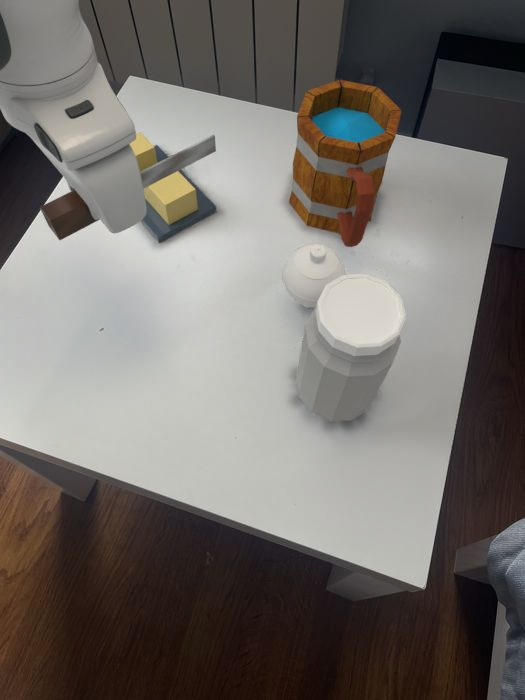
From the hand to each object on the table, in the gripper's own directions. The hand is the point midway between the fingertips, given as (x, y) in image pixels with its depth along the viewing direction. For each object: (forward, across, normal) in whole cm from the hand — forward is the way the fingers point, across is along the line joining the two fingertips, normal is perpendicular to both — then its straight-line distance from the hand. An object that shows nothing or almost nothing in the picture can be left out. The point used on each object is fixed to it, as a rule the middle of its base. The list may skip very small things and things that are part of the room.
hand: (90, 203), depth 57 cm
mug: (+17, +7, +32) cm, 37 cm away
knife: (+2, 0, +5) cm, 5 cm away
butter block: (+16, -9, +14) cm, 23 cm away
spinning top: (+17, +17, +18) cm, 30 cm away
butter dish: (+17, -12, +14) cm, 25 cm away
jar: (+17, +28, +13) cm, 35 cm away
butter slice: (+16, -18, +14) cm, 27 cm away
